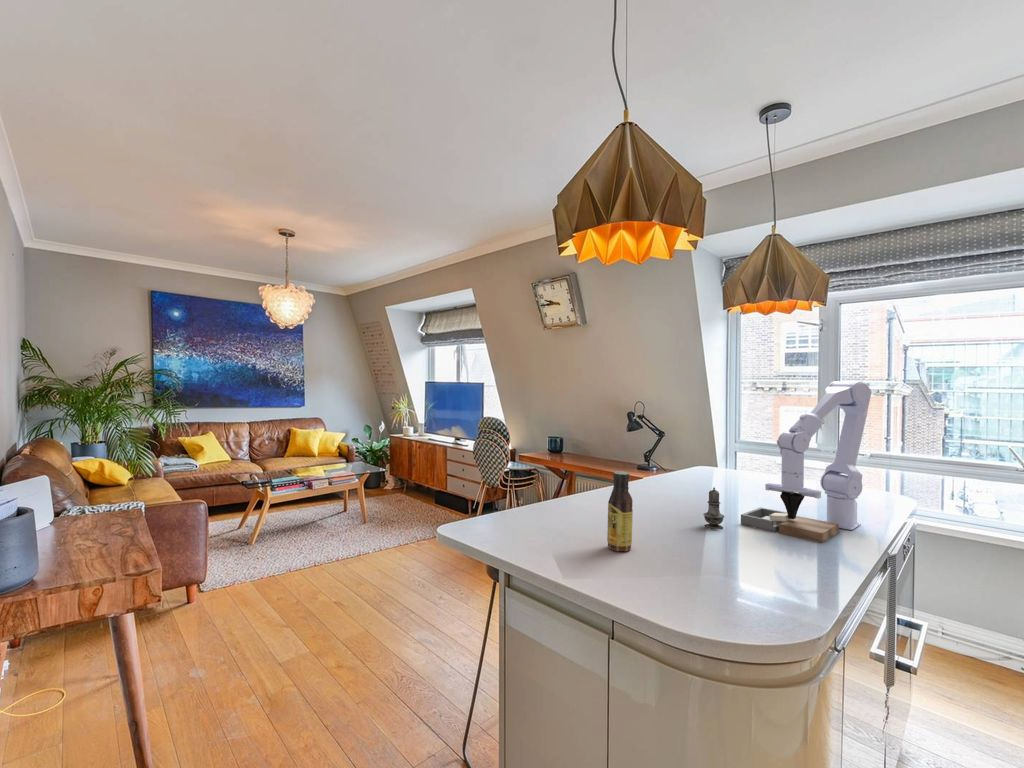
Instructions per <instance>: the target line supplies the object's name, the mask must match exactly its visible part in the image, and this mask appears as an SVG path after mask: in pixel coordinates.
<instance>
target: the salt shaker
mask: <svg viewBox="0 0 1024 768" xmlns="http://www.w3.org/2000/svg"><path fill="white" fill-rule="evenodd" d="M707 504H708V510H707V512H704V513H703V514H702V515H703V517H704V521H705V522H707V523H706V524H704V526H705V527H704V528H706V527H707V528H706V529H708V528H710V529H709V530H713V529H721V530H724V527H723V526H722V525H721V524H722V523H723V521H724V518H725V515H724V514H722V513H721V512H720V505H721V504H722V503H721V502H720V492H719V491H718V490H716V487H712V489H711V490H709V491H708V501H707Z"/></svg>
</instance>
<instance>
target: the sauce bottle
mask: <svg viewBox="0 0 1024 768" xmlns="http://www.w3.org/2000/svg"><path fill="white" fill-rule="evenodd" d="M612 477H613V478H612V479H613V488H612V491H611V493H610V497H609V499H608V503H607V506H608V507H607V535H606V536H607V538H606V539H607V548H608V549H609V550H612V551H613V550H614V551H613V552H619V551H621V553H623V552H622V551H625V552H629V551H631V549H632V544H633V515H634V514H633V513H634V512H633V511H634V510H633V504H634V503H633V501H634V500H633V497H632V495H631V494H630V491H629V488H630V487H629V480H630V472H628V471H623V470H619V471H614V472H613V473H612ZM628 550H629V551H628Z"/></svg>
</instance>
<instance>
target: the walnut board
mask: <svg viewBox="0 0 1024 768" xmlns="http://www.w3.org/2000/svg"><path fill="white" fill-rule="evenodd" d="M839 532H840V528H839V524H836V523H831V522H826V520H819V519H814V518H809V517H805V516H799V515H796V518H795V519H790V520H788V521H785V522H783V523H781V524H779V531H778V534H781V533H782V534H781V535H787V536H792V537H795V538H799V539H800V538H801V539H806V540H809V541H813V542H817V541H818V543H824V542H826V541H827V540H829V539H831V538H832V537H834V536H836V535H838V534H839ZM835 534H836V535H835ZM830 537H831V538H830Z"/></svg>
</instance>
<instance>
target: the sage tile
mask: <svg viewBox="0 0 1024 768" xmlns="http://www.w3.org/2000/svg"><path fill="white" fill-rule="evenodd" d="M763 519H768V520H770V517H769V516H765V517H763ZM780 522H782V521H773V526H774V525H776V524H778V523H780Z"/></svg>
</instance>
